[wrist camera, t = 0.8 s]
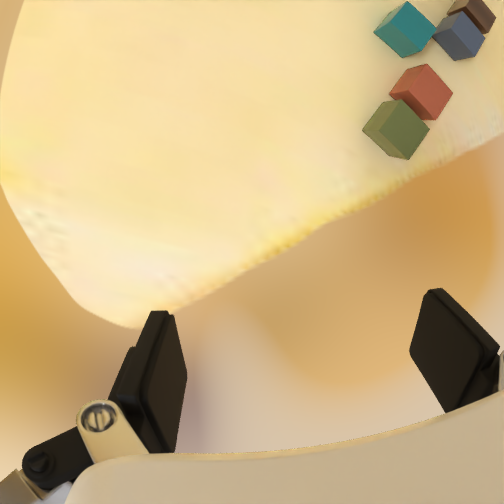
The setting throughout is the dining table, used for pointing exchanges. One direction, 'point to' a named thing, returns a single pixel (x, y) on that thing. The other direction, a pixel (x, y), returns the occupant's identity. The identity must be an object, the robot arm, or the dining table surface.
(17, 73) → the dining table surface
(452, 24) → the slate cube
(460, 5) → the walnut cube
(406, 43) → the teal cube
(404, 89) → the terracotta cube
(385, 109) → the olive cube
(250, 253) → the dining table surface
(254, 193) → the dining table surface
